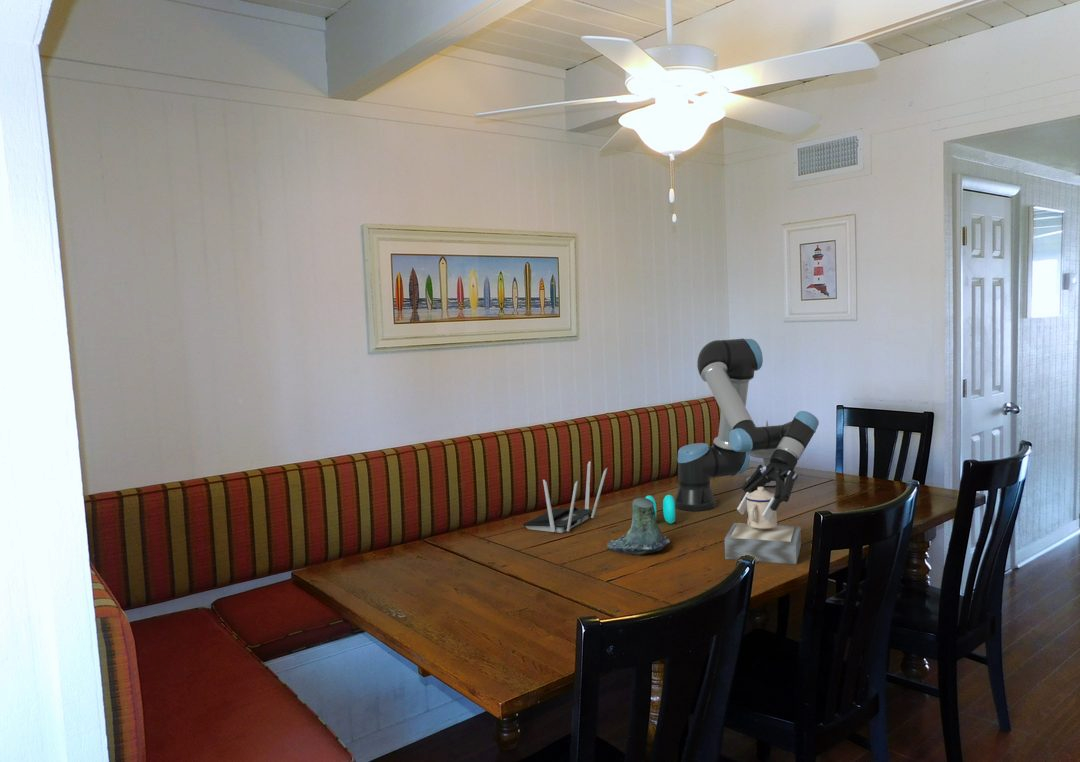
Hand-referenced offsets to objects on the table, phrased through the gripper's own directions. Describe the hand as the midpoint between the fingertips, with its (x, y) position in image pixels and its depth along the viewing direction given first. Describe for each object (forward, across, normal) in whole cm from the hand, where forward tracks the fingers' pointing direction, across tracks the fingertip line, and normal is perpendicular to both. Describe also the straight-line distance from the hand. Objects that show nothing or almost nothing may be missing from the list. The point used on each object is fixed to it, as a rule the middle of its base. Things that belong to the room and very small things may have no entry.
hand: (752, 514), depth 227 cm
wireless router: (+26, +64, +9) cm, 70 cm away
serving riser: (+6, -2, -10) cm, 12 cm away
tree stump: (+24, +27, +7) cm, 37 cm away
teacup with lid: (+1, 0, -5) cm, 5 cm away
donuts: (+7, +44, -10) cm, 46 cm away
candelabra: (-46, +62, -63) cm, 99 cm away
